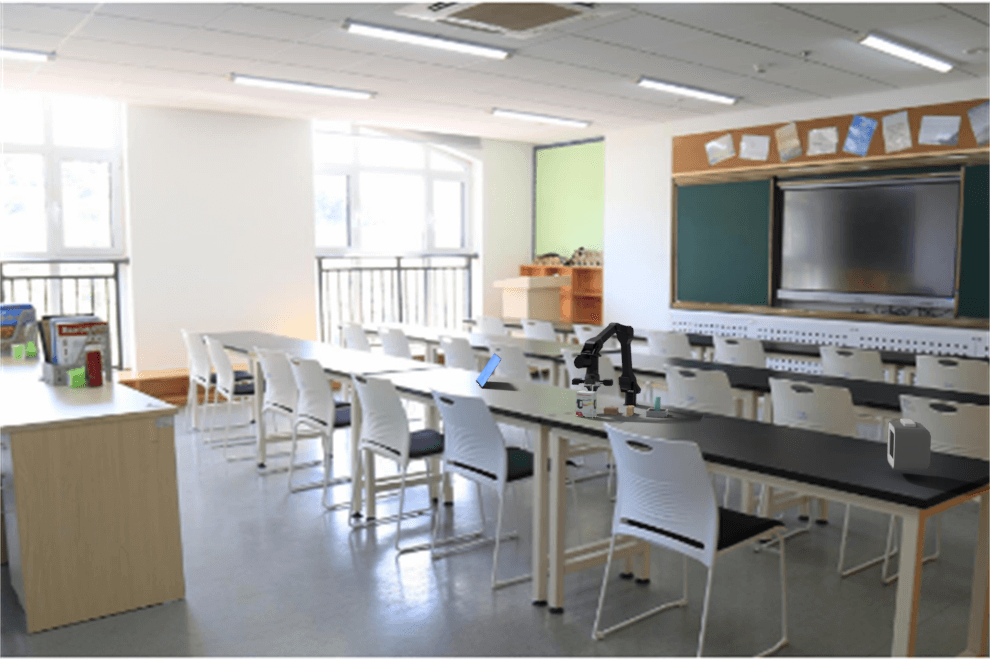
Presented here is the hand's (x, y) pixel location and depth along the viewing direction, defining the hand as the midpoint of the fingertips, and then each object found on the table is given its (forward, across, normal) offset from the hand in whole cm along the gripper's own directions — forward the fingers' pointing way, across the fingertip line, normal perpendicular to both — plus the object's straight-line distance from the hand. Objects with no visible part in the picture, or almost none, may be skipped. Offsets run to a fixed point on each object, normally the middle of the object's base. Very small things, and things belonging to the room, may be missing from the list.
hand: (592, 400), depth 406 cm
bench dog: (+6, +18, 0) cm, 19 cm away
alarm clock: (+6, +122, -81) cm, 147 cm away
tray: (+6, +30, 0) cm, 30 cm away
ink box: (+6, -1, -13) cm, 15 cm away
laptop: (+7, -82, +67) cm, 106 cm away
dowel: (+5, +30, 0) cm, 30 cm away
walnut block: (+6, +9, 0) cm, 11 cm away
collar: (+6, +28, +10) cm, 31 cm away
